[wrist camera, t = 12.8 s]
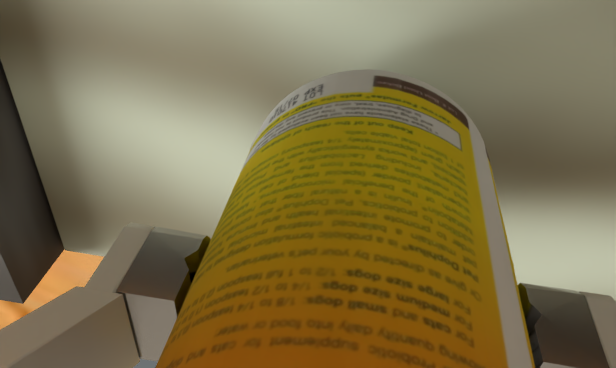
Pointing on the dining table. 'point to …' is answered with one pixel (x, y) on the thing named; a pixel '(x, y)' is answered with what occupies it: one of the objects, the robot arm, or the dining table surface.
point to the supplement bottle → (358, 241)
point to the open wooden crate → (271, 91)
